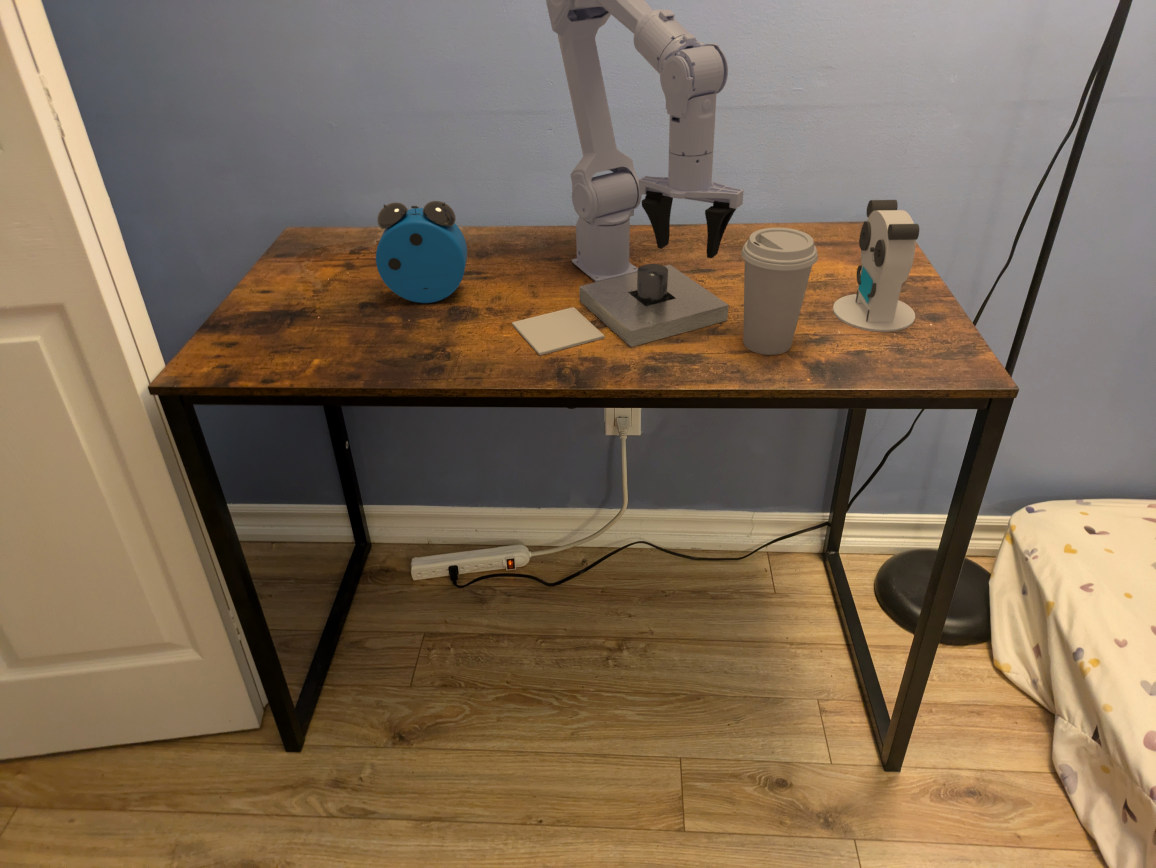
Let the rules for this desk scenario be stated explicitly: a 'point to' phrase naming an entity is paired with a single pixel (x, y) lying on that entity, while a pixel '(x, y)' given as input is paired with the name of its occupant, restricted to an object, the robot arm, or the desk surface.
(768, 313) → the coffee cup
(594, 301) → the housing block
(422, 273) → the alarm clock
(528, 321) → the rubber pad
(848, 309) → the panda figurine
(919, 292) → the desk surface
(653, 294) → the dark metal cylinder
